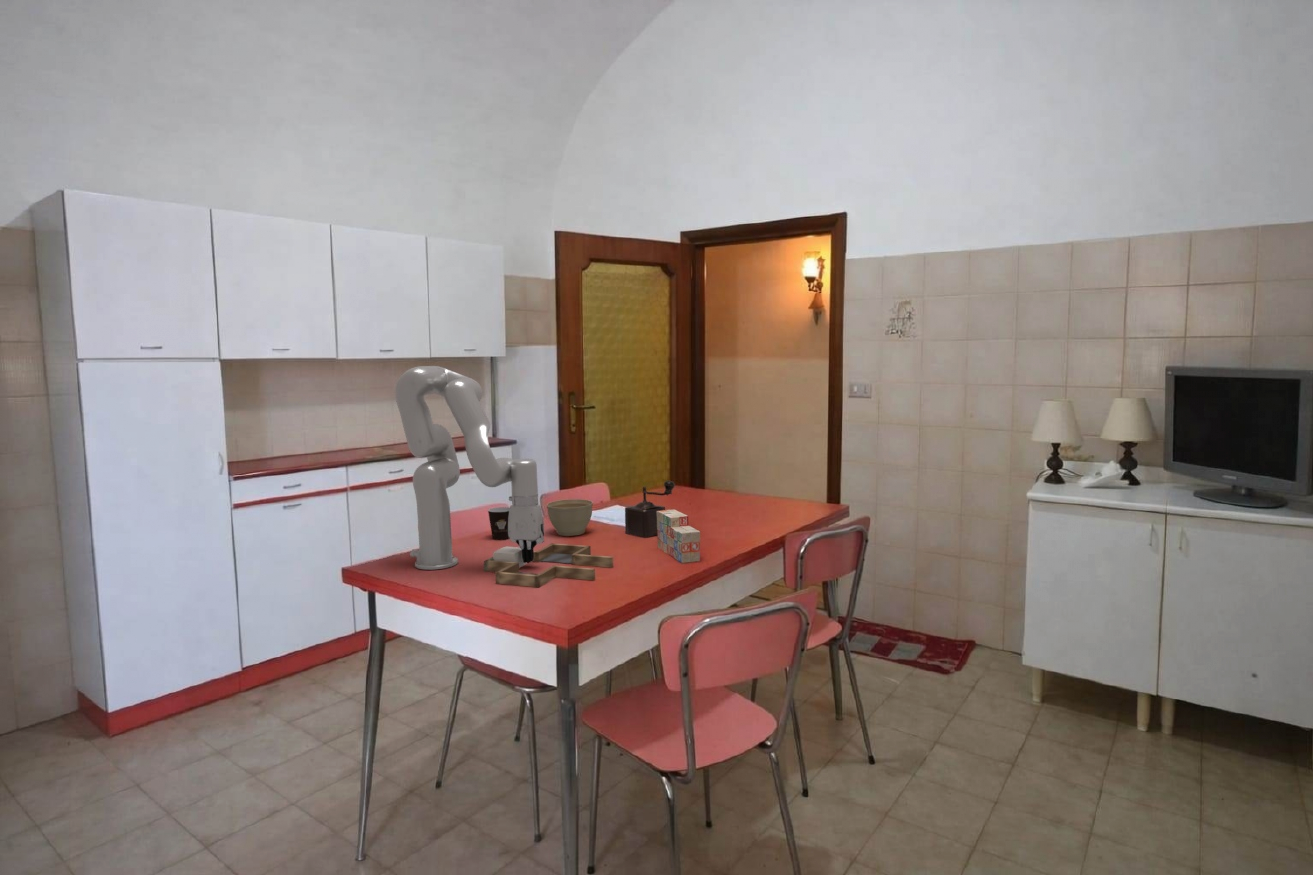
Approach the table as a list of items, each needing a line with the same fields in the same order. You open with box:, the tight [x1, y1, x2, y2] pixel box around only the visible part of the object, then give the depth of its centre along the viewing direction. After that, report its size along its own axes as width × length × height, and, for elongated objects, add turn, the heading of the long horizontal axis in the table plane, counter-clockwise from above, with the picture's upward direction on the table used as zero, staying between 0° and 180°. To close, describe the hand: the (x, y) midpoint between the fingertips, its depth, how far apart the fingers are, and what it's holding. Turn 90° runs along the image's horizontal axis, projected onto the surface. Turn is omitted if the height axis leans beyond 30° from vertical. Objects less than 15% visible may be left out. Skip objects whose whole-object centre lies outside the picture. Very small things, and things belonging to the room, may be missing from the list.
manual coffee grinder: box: [624, 480, 676, 539], centre depth 272 cm, size 16×11×18 cm
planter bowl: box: [546, 498, 594, 537], centre depth 273 cm, size 16×16×11 cm
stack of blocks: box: [657, 509, 701, 564], centre depth 242 cm, size 21×6×12 cm, turn 20°
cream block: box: [492, 546, 527, 569], centre depth 232 cm, size 7×7×5 cm
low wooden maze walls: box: [483, 543, 614, 588], centre depth 228 cm, size 35×34×3 cm
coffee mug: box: [487, 506, 510, 541], centre depth 268 cm, size 12×9×10 cm
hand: (528, 561), depth 231 cm, fingers closed
